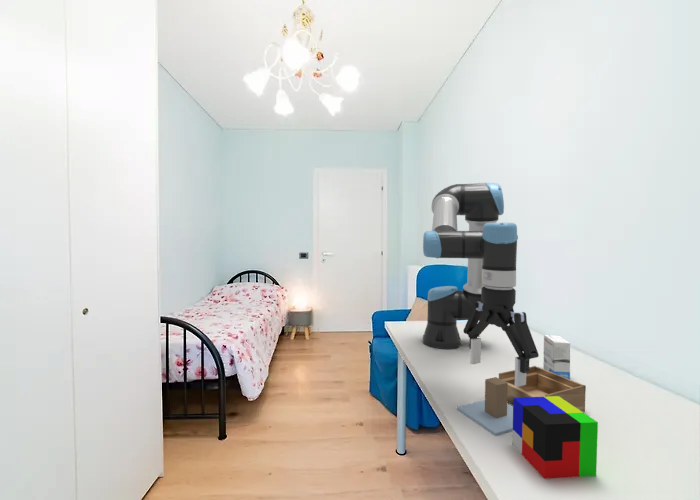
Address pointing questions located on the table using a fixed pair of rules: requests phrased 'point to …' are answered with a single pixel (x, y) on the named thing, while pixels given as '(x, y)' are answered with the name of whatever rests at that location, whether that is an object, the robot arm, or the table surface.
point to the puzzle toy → (555, 437)
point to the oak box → (545, 387)
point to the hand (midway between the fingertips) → (496, 373)
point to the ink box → (557, 355)
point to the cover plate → (488, 419)
